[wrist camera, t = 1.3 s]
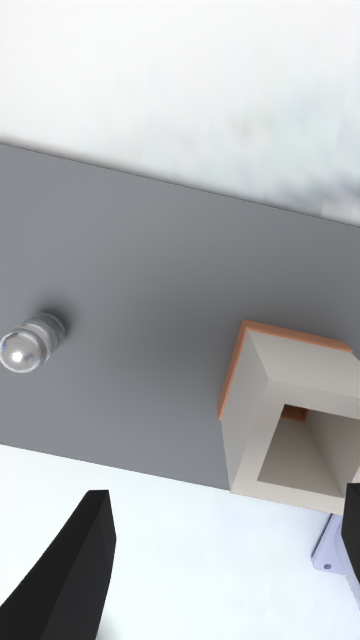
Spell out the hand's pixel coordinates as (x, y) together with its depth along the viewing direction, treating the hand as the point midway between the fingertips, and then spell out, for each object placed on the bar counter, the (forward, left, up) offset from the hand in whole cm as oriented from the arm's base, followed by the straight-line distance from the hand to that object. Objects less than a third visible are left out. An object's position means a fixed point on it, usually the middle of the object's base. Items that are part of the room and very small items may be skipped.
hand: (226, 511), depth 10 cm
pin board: (+3, -1, -10) cm, 10 cm away
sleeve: (-3, -1, -8) cm, 9 cm away
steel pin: (+9, -1, -8) cm, 12 cm away
